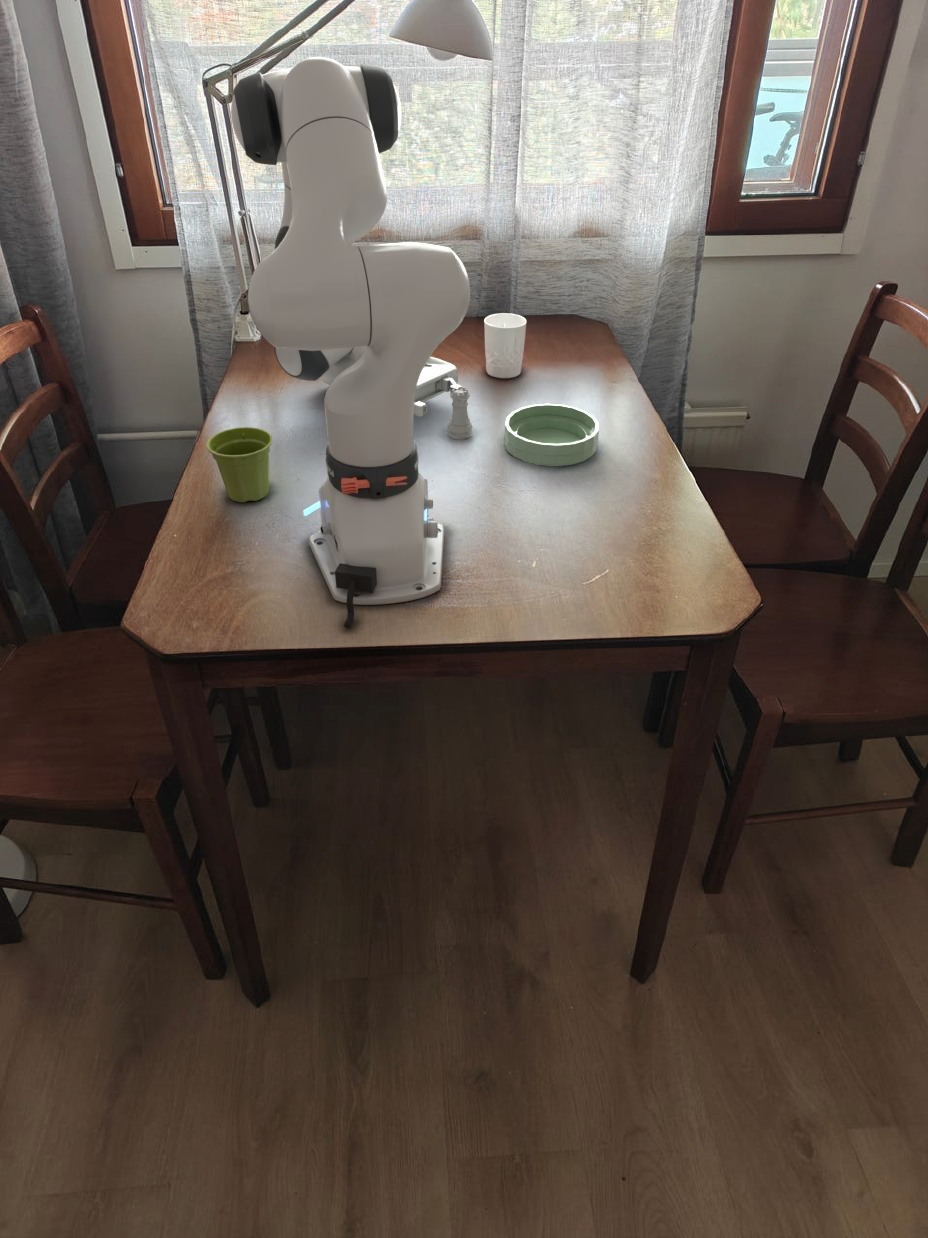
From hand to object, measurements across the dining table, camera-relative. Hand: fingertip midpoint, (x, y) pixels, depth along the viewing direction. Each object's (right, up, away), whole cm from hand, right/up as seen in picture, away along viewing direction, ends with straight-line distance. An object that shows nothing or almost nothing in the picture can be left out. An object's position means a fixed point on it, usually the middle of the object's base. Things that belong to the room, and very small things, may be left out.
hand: (443, 401), depth 147 cm
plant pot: (-29, -18, -14) cm, 37 cm away
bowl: (+18, -8, -2) cm, 20 cm away
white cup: (+11, +11, +23) cm, 28 cm away
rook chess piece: (+3, -5, +1) cm, 6 cm away
